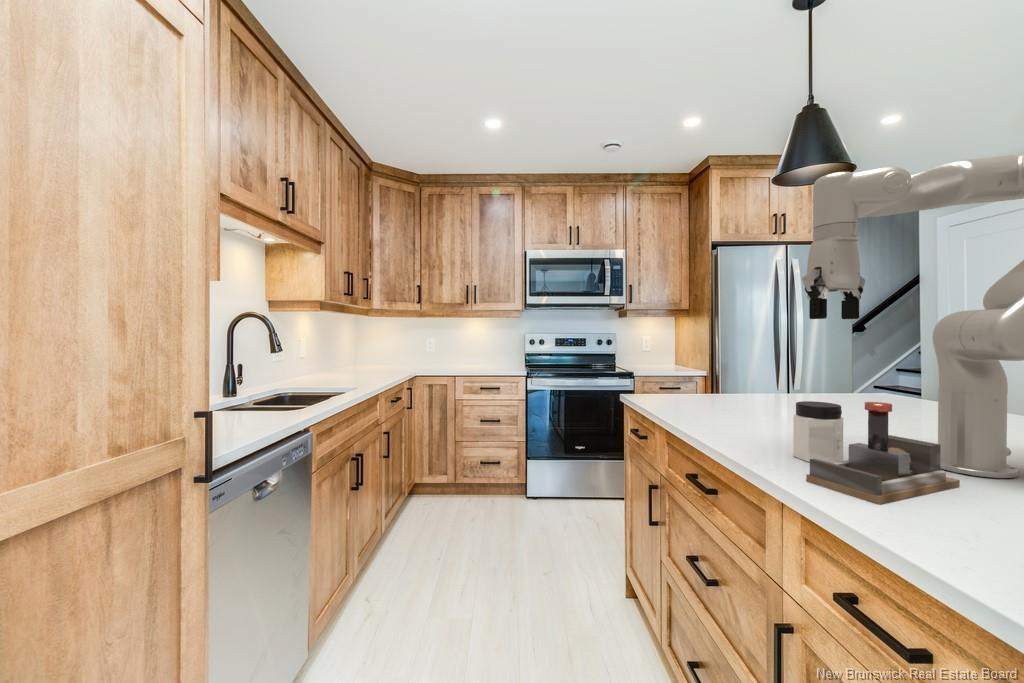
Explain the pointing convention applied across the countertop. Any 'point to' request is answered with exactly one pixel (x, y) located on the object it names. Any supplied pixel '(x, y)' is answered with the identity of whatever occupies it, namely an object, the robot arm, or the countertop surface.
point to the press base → (876, 490)
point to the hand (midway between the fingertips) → (834, 318)
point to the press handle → (878, 447)
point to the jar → (818, 431)
